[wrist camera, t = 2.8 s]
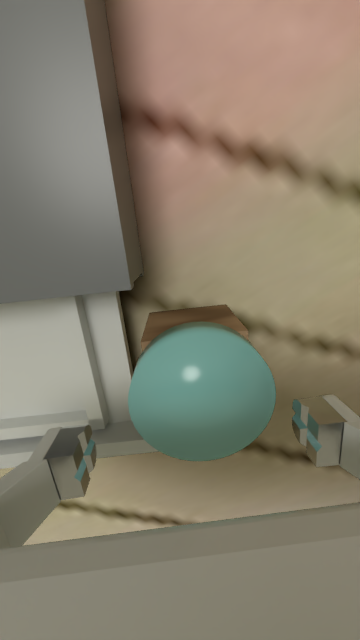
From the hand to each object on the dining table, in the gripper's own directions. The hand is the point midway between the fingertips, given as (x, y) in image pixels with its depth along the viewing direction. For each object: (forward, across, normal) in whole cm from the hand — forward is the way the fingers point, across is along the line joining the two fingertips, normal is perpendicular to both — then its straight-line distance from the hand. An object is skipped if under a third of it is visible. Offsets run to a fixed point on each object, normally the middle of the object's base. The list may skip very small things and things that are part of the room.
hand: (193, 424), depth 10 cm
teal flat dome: (+2, 0, 0) cm, 3 cm away
